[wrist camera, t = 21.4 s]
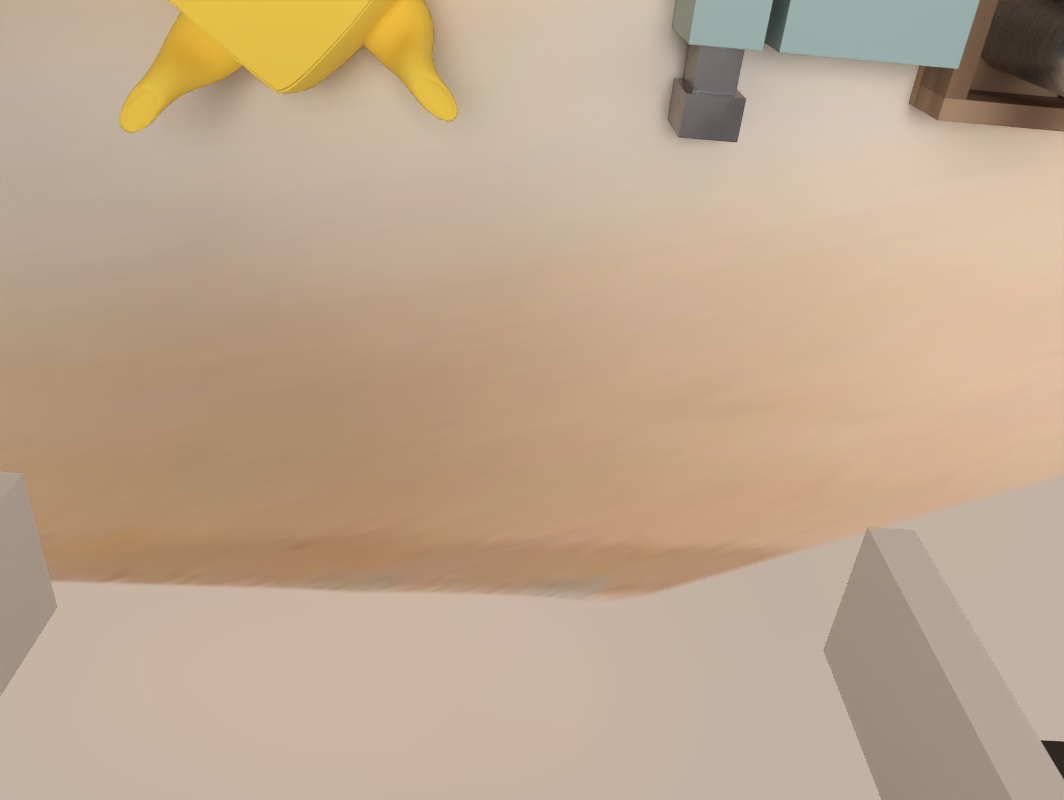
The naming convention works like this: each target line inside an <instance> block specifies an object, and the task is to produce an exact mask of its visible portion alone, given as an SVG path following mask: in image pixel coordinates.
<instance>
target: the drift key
mask: <svg viewBox="0 0 1064 800" xmlns="http://www.w3.org/2000/svg"><path fill="white" fill-rule="evenodd" d="M743 54H744V49H736V48H725V47H714V46H704V45H693V44H689V49H688V55H687V61H686V67H685V73H684V79H677V78H675V80H674V86H673V92H672V98H671V104H670V111H669V117H668V120H669V122H670V124H671V125H672V127H673V129H674V130H675V132H676V134H677V135H678V137H681V138H693V139H704V140H716V141H727V142H737V140H738V136H739V131H740V126H741V121H742V116H743V111H744V106H745V101H746V98H745V97H744V96H743V95H742V94H741V93H740V92H739V91H738V90H737V84H738V79H739V74H740V69H741V64H742V59H743Z"/></svg>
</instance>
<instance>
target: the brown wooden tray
mask: <svg viewBox="0 0 1064 800" xmlns="http://www.w3.org/2000/svg"><path fill="white" fill-rule="evenodd" d="M997 3H998V0H980V1H979V4H978V8H977V11H976V14H975V17H974V20H973V23H972V26H971V30H970V33H969V36H968V39H967V42H966V45H965V48H964V52H963V55H962V58H961V61H960V64H959V67H958V69H954V68H943V67H932V66H921V65H920V67H919V71H918V74H917V77H916V81H915V84H914V87H913V91H912V94H911V98H910V101H909V104H911V105H913V106H915V107H916V108H918V109H920V110H921V111H923V112H925V113H926V114H928V115H930V116H932V117H933V118H935V119H937V120H941V121H953V122H964V123H975V124H986V125H998V126H1009V127H1020V128H1032V129H1043V130H1054V131H1064V97H1063V96H1061V95H1058V94H1056V93H1053V92H1051V91H1049V90H1046V89H1044V88H1041V87H1039V86H1036V85H1034V84H1032V83H1029V82H1027V81H1024V80H1022V79H1020V78H1017V77H1015V76H1012V75H1010V74H1007V73H1005V72H1003V71H1000V70H998V69H995V68H993V67H991V66H990V65H988V64H987V63H986V62H985V61H984V60H983V58H982V57H981V52H982V49H983V46H984V43H985V40H986V37H987V34H988V31H989V28H990V25H991V22H992V19H993V16H994V12H995V9H996V6H997Z"/></svg>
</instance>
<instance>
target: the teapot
mask: <svg viewBox="0 0 1064 800" xmlns="http://www.w3.org/2000/svg"><path fill="white" fill-rule="evenodd" d="M169 1H170V2H171V3H172V4H174V5H175V6H176V7H177V8H178V9H179V10H180V11H181V13H180V15H179V16H178V18H177V20H176V21H175V23H174V25H173V26H172V28H171V30H170V32H169V34H168V36H167V38H166V40H165V42H164V44H163V46H162V48H161V50H160V52H159V54H158V56H157V58H156V59H155V61H154V63H153V64H152V66H151V67H150V69H149V70H148V72H147V73H146V74H145V76H144V77H143V78H142V80H141V81H140V82H139V83H138V84H137V86H136V87H135V88H134V89H133V90H132V92H131V93H130V94H129V96H128V98H127V99H126V101H125V103H124V105H123V107H122V110H121V114H120V125H121V127H122V129H123V130H124V131H126V132H128V133H134V132H138V131H140V130H142V129H144V128H145V127H147V126H148V125H149V124H150V123H151V122H153V121H154V120H155V119H156V117H157V116H158V115H159V114H160V113H161V112H162V111H163V110H164V109H165V108H166V107H167V106H168V105H169V104H171V103H172V102H173V101H174V100H175V99H177V98H178V97H180V96H182V95H183V94H185V93H187V92H189V91H192V90H194V89H197V88H200V87H203V86H206V85H209V84H212V83H214V82H217V81H219V80H221V79H223V78H225V77H227V76H229V75H230V74H232V73H233V72H235V71H237V70H238V69H239V68H240V67H241V66H244V67H245V68H246V69H247V70H248V71H250V72H251V73H252V74H253V75H254V76H256V77H257V78H258V79H259V80H261V81H262V82H263V83H264V84H266V85H267V86H268V87H270V88H271V89H272V90H274V91H276V92H277V93H296V92H300V91H303V90H306V89H309V88H311V87H313V86H315V85H316V84H318V83H319V82H321V81H322V80H324V79H326V78H327V77H328V76H329V75H330V74H332V73H333V72H334V71H335V70H336V69H337V68H339V67H340V66H341V65H342V64H343V63H344V62H346V61H347V60H348V59H349V58H350V57H351V56H352V55H353V54H354V53H355V52H356V51H358V50H359V49H360V48H361V47H362V46H364V47H366V48H367V49H368V50H369V51H370V52H371V53H372V54H373V55H374V56H375V57H376V58H377V59H379V60H380V61H381V62H382V63H383V64H384V65H385V66H386V67H387V68H389V69H390V70H391V71H392V72H393V73H394V74H396V75H397V76H398V77H399V78H400V79H401V80H402V81H403V83H404V84H405V85H406V86H407V88H408V89H409V90H410V91H411V93H412V94H413V95H414V97H415V98H416V99H417V100H418V101H419V103H420V104H421V105H422V106H423V107H424V108H425V109H427V110H428V111H429V112H430V113H431V114H433V115H434V116H436V117H438V118H440V119H441V120H445V121H452V120H454V119H455V118H456V116H457V111H458V109H457V105H456V102H455V100H454V98H453V96H452V94H451V93H450V91H449V89H448V88H447V86H446V85H445V84H444V82H443V81H442V79H441V78H440V76H439V75H438V73H437V71H436V69H435V67H434V64H433V60H432V48H433V36H434V30H433V23H432V19H431V16H430V13H429V10H428V8H427V6H426V4H425V2H424V1H423V0H169Z"/></svg>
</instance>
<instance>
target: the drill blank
mask: <svg viewBox="0 0 1064 800" xmlns="http://www.w3.org/2000/svg"><path fill="white" fill-rule="evenodd" d="M981 57H982V58H983V60H984V61H985V62H986V63H987V64H988V65H990V66H991V67H993V68H995V69H998V70H1000V71H1003V72H1005V73H1007V74H1010V75H1012V76H1015V77H1017V78H1020V79H1022V80H1024V81H1027V82H1029V83H1032V84H1034V85H1036V86H1039V87H1041V88H1044V89H1046V90H1049V91H1051V92H1053V93H1056V94H1058V95H1061V96H1063V97H1064V0H998V3H997V6H996V9H995V12H994V16H993V19H992V22H991V25H990V28H989V31H988V34H987V37H986V40H985V43H984V46H983V49H982V52H981Z"/></svg>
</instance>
